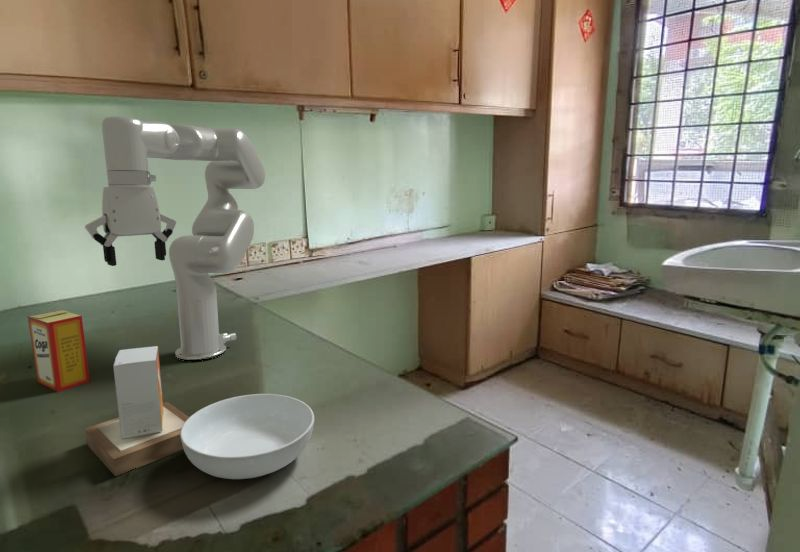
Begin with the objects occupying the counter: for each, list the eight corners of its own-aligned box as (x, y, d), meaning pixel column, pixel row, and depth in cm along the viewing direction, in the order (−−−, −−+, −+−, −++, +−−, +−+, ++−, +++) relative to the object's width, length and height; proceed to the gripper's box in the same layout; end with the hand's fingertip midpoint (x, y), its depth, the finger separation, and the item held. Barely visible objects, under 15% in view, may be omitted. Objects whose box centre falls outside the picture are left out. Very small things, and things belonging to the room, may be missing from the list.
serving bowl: (182, 514, 66) (178, 469, 65) (184, 440, 85) (181, 404, 84) (329, 479, 74) (328, 438, 73) (300, 419, 93) (299, 386, 92)
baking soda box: (89, 381, 109) (81, 314, 106) (57, 392, 104) (48, 321, 101) (68, 373, 114) (60, 308, 111) (37, 382, 109) (27, 314, 106)
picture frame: (168, 415, 94) (167, 400, 93) (202, 441, 84) (201, 424, 84) (86, 444, 83) (84, 427, 83) (115, 476, 74) (113, 458, 74)
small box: (163, 432, 81) (156, 359, 79) (120, 440, 79) (111, 365, 76) (164, 411, 88) (158, 344, 86) (125, 418, 86) (117, 349, 83)
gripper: (164, 180, 107) (170, 256, 110) (74, 179, 94) (84, 265, 97) (179, 180, 102) (185, 259, 105) (86, 179, 89) (97, 269, 93)
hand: (137, 262), depth 101 cm, fingers open, 9 cm apart
